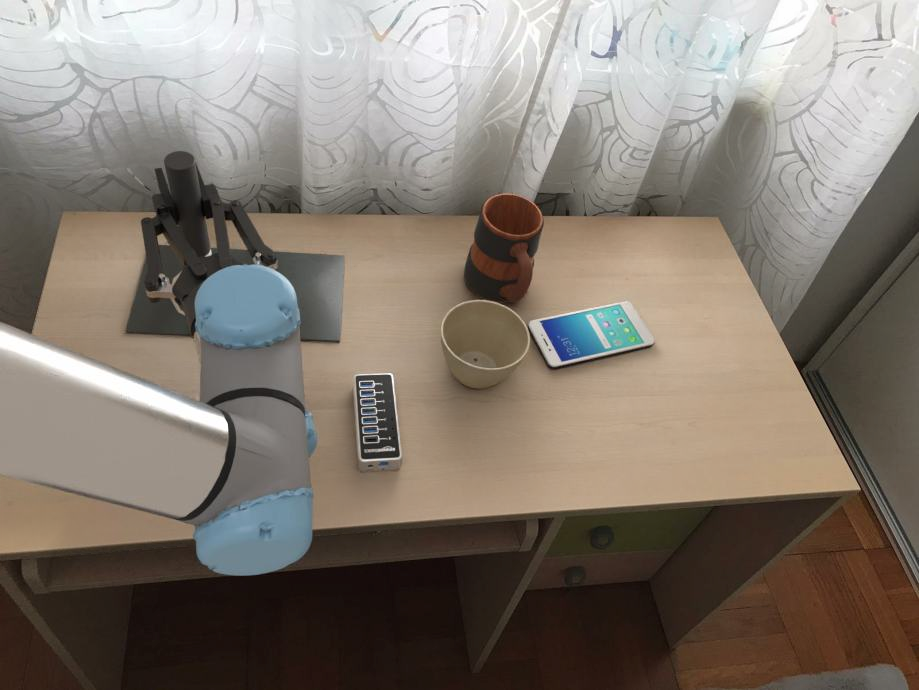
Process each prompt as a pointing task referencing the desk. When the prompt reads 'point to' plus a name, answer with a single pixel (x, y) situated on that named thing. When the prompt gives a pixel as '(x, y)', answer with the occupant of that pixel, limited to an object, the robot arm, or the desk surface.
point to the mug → (504, 248)
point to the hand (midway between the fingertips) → (177, 175)
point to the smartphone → (590, 334)
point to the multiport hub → (376, 422)
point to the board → (306, 272)
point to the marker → (188, 200)
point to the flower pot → (483, 342)
